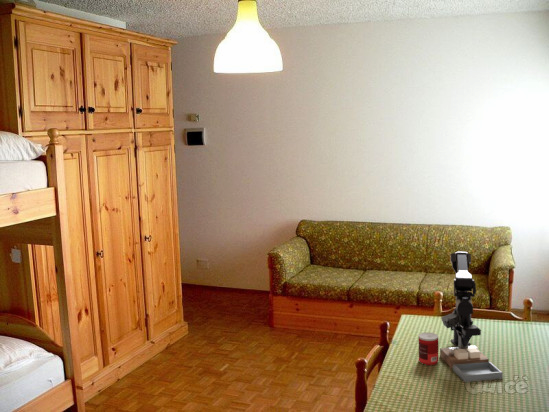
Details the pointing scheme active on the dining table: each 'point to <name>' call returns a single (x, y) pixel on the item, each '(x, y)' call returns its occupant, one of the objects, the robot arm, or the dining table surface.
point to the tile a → (461, 354)
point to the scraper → (459, 345)
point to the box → (477, 371)
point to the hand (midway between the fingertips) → (463, 345)
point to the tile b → (473, 353)
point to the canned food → (428, 348)
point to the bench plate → (453, 360)
